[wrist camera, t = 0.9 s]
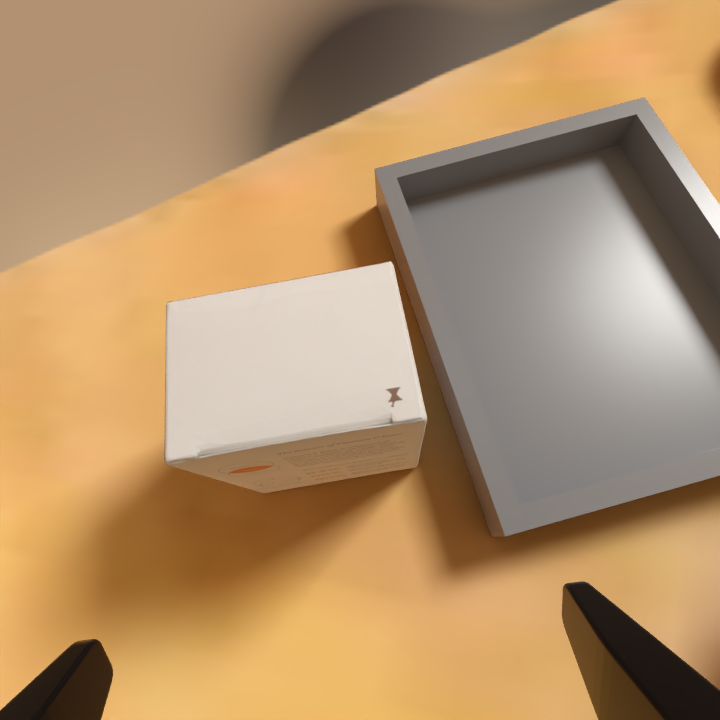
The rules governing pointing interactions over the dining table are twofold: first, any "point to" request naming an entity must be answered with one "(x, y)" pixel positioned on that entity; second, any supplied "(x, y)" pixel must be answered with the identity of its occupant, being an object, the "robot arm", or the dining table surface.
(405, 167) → the tray
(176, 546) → the dining table surface
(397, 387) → the small box
